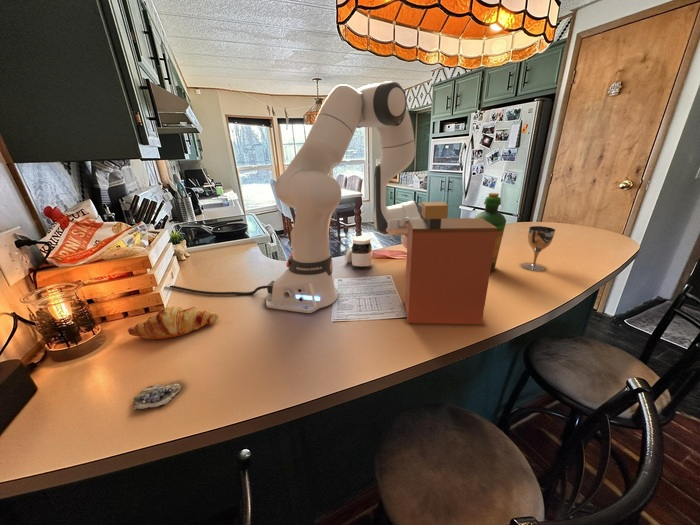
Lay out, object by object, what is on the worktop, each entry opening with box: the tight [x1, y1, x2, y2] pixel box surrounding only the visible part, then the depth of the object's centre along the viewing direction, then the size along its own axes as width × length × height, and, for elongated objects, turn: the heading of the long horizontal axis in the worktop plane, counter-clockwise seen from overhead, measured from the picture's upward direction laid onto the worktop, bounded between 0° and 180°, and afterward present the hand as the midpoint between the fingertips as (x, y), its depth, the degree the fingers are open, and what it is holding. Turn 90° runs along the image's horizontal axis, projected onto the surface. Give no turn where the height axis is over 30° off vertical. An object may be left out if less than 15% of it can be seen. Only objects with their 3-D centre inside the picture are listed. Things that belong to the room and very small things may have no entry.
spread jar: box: [344, 235, 373, 270], centre depth 112 cm, size 12×11×12 cm
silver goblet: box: [522, 225, 556, 272], centre depth 103 cm, size 8×8×15 cm
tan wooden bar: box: [417, 201, 449, 229], centre depth 73 cm, size 5×21×5 cm, turn 175°
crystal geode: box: [131, 383, 182, 410], centre depth 54 cm, size 7×8×2 cm
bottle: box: [474, 192, 507, 272], centre depth 101 cm, size 11×11×28 cm
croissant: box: [127, 306, 219, 340], centre depth 74 cm, size 21×10×8 cm, turn 111°
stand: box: [404, 217, 497, 325], centre depth 73 cm, size 19×10×26 cm, turn 85°
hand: (422, 219), depth 82 cm, fingers open, 8 cm apart
